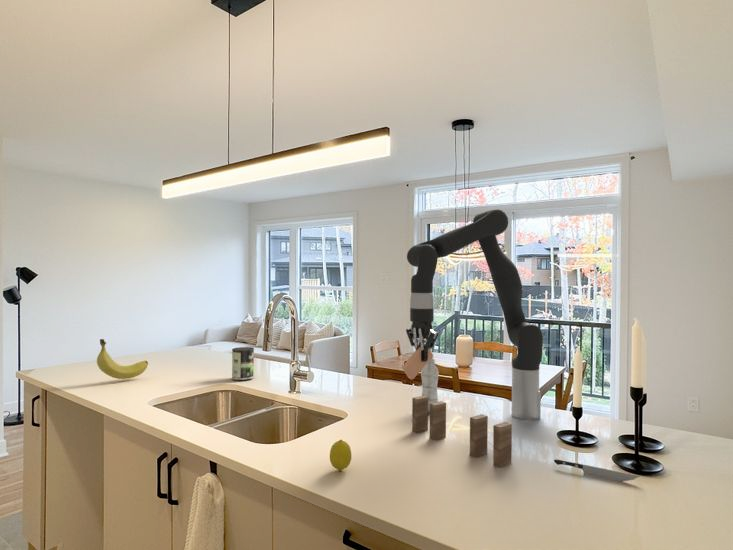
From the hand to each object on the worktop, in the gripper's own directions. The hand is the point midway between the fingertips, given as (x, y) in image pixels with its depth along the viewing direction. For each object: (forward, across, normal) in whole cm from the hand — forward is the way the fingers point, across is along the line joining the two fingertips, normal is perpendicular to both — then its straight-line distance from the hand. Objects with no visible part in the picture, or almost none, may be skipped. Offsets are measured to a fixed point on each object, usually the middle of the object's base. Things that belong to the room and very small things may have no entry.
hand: (421, 360), depth 144 cm
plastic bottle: (+23, +14, -17) cm, 32 cm away
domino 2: (+23, 0, 0) cm, 23 cm away
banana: (+23, +133, +70) cm, 152 cm away
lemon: (+23, -10, +37) cm, 45 cm away
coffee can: (+23, +106, +21) cm, 110 cm away
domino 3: (+23, -8, 0) cm, 24 cm away
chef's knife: (+23, -49, -13) cm, 56 cm away
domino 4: (+23, -24, 0) cm, 33 cm away
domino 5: (+23, -32, 0) cm, 39 cm away
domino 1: (+3, 0, +6) cm, 7 cm away
